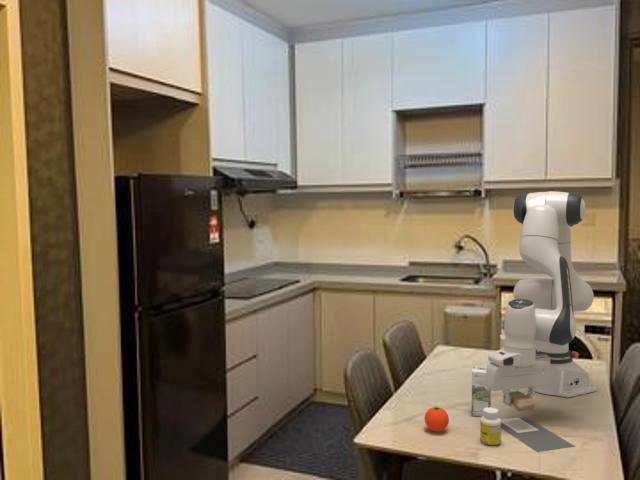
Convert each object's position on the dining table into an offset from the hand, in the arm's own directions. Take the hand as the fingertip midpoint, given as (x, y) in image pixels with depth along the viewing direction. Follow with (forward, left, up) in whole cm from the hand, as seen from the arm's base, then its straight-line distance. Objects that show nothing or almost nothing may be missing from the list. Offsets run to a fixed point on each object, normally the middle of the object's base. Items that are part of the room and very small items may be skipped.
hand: (518, 402), depth 168 cm
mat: (0, +6, -8) cm, 10 cm away
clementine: (+24, -5, -8) cm, 26 cm away
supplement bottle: (+14, +8, -8) cm, 18 cm away
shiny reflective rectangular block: (0, 0, -1) cm, 1 cm away
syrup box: (+5, -12, -8) cm, 15 cm away
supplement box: (-32, -52, -8) cm, 62 cm away
